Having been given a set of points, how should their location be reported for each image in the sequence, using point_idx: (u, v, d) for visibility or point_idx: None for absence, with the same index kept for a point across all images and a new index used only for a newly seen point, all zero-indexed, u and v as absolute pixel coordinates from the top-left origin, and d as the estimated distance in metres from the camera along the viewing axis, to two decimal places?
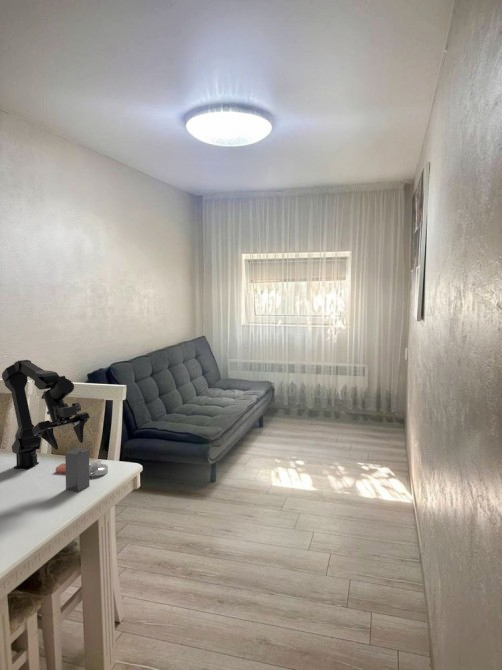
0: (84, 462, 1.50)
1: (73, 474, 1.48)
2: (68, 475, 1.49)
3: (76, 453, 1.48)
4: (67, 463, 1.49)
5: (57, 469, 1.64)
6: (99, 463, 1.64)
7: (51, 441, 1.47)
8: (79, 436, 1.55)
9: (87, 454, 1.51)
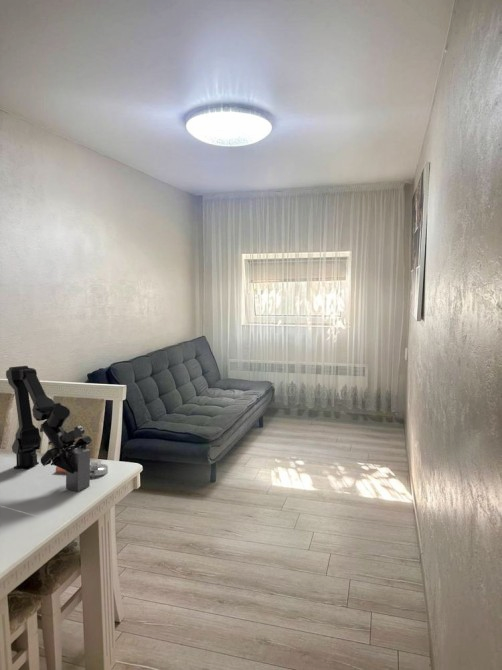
0: (85, 462, 1.50)
1: (73, 473, 1.48)
2: (68, 474, 1.49)
3: (77, 452, 1.49)
4: None
5: (57, 469, 1.64)
6: (99, 463, 1.64)
7: (66, 466, 1.47)
8: None
9: (88, 454, 1.52)
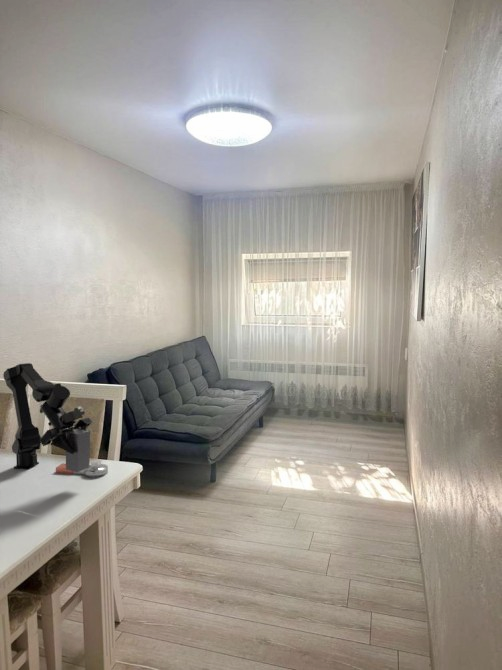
0: (85, 442, 1.50)
1: (73, 454, 1.48)
2: (68, 455, 1.49)
3: (77, 433, 1.48)
4: None
5: (57, 469, 1.64)
6: (99, 463, 1.64)
7: (66, 446, 1.47)
8: None
9: (88, 435, 1.51)
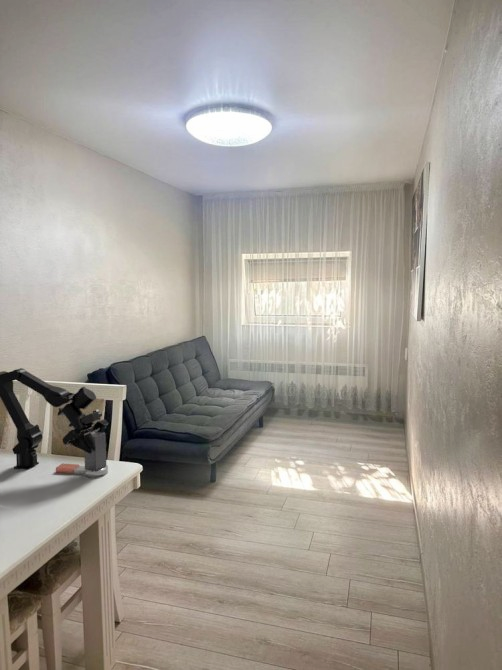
0: (101, 444, 1.63)
1: (91, 455, 1.61)
2: (87, 456, 1.62)
3: (94, 436, 1.61)
4: None
5: (57, 469, 1.64)
6: None
7: (84, 446, 1.59)
8: None
9: (104, 437, 1.64)
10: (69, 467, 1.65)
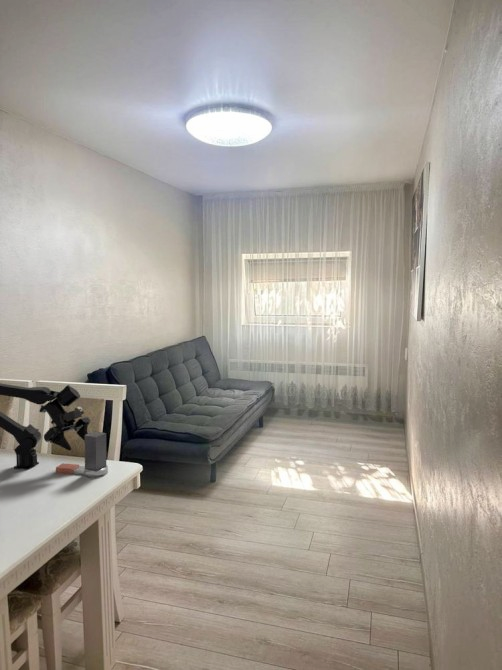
0: (102, 444, 1.63)
1: (92, 455, 1.61)
2: (87, 456, 1.62)
3: (94, 436, 1.61)
4: (86, 445, 1.62)
5: (57, 469, 1.64)
6: None
7: (63, 443, 1.62)
8: None
9: (104, 437, 1.64)
10: (69, 467, 1.65)
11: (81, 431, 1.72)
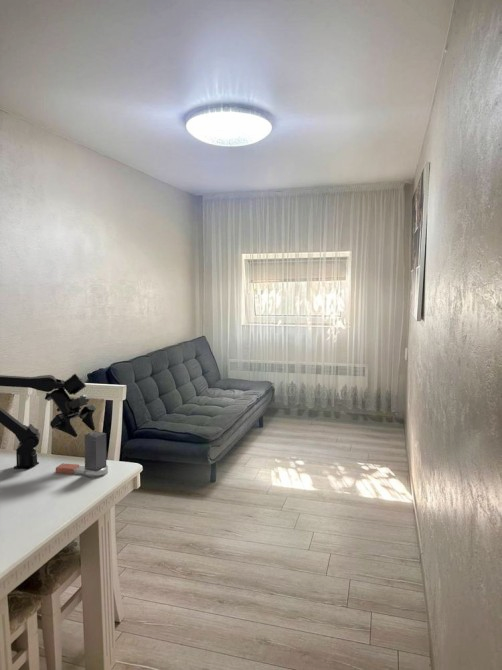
0: (102, 444, 1.63)
1: (92, 455, 1.61)
2: (87, 456, 1.62)
3: (94, 436, 1.61)
4: (86, 445, 1.62)
5: (57, 469, 1.64)
6: None
7: (70, 430, 1.64)
8: (90, 425, 1.73)
9: (104, 437, 1.64)
10: (69, 467, 1.65)
11: (86, 419, 1.75)
